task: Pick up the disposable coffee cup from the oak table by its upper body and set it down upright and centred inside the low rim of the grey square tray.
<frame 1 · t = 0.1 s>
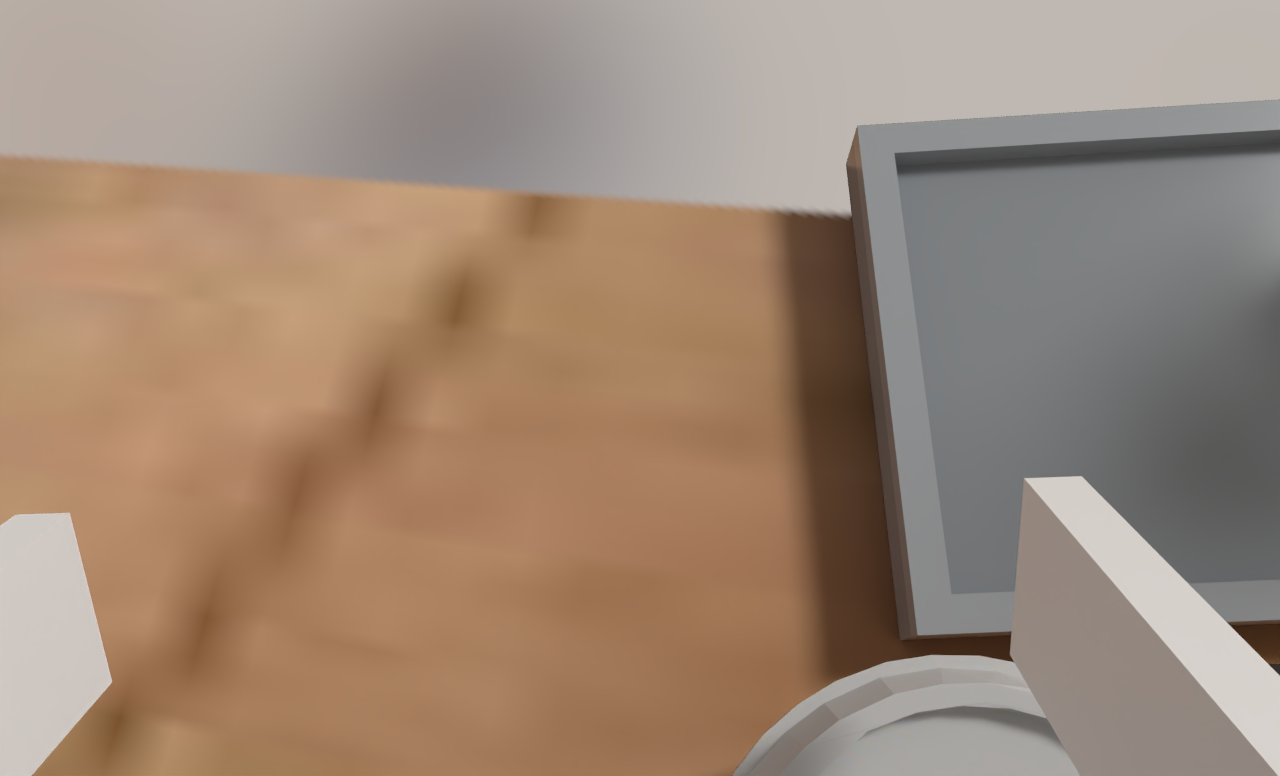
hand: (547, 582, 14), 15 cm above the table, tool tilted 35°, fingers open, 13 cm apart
grey square tray: (1123, 371, 30), on the table
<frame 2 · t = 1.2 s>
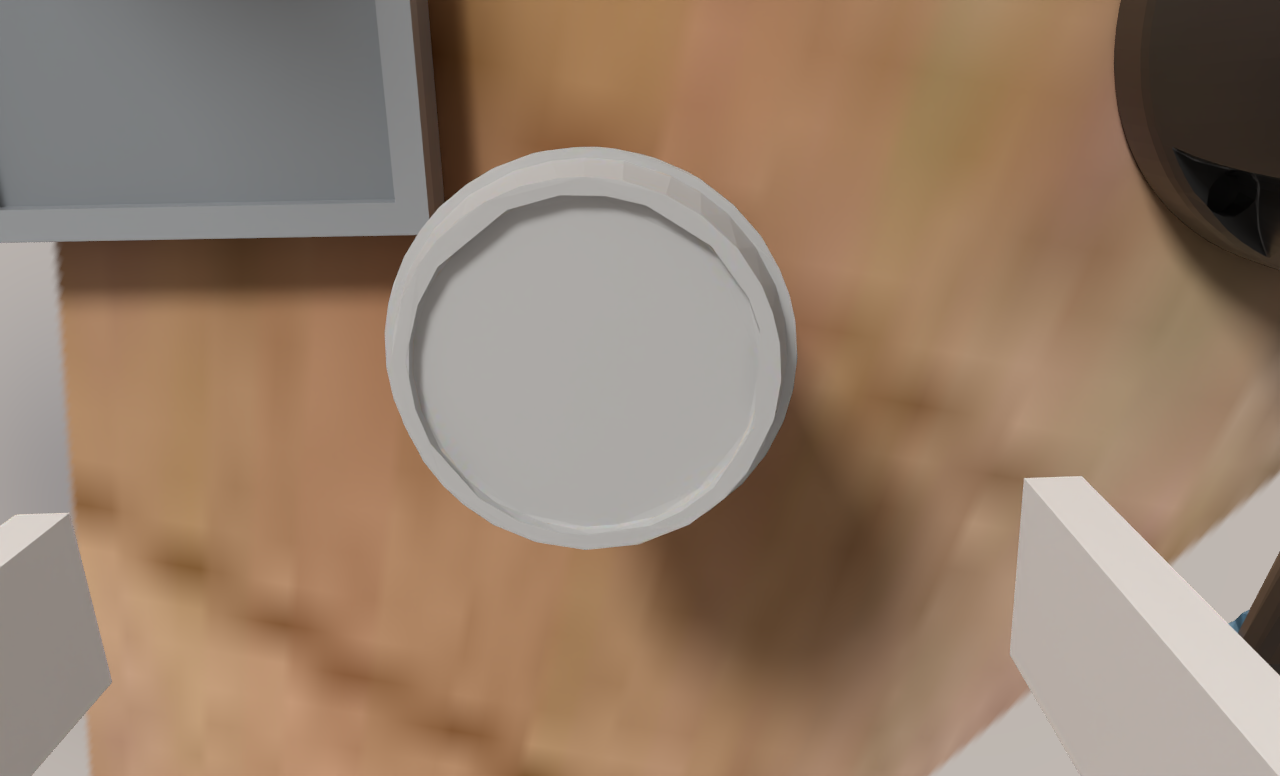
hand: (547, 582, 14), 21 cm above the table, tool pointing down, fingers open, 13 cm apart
disposable coffee cup: (614, 263, 34), on the table
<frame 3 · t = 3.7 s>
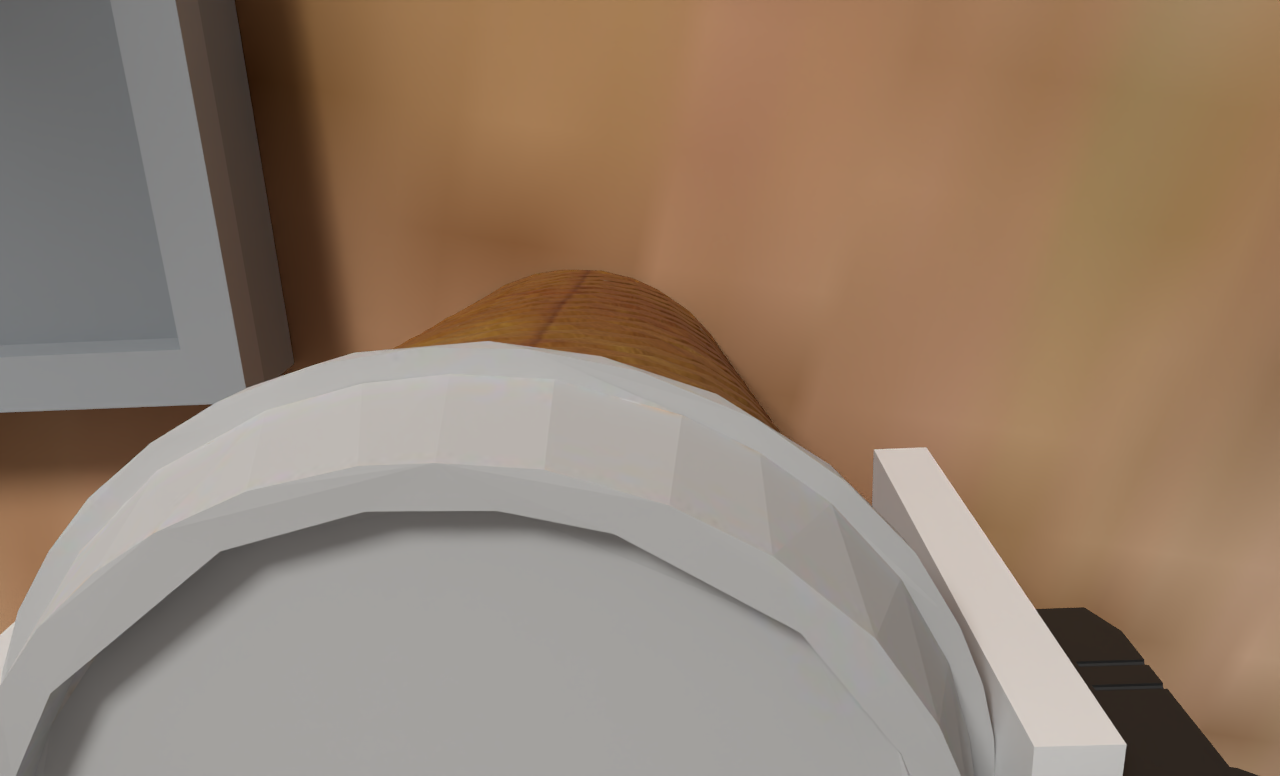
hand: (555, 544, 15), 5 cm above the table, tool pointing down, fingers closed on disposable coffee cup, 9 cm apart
disposable coffee cup: (581, 421, 20), on the table, touching gripper
when the fingers open (8 cm above the table, at t = 9.4 s): disposable coffee cup stays where it is, resting on grey square tray.
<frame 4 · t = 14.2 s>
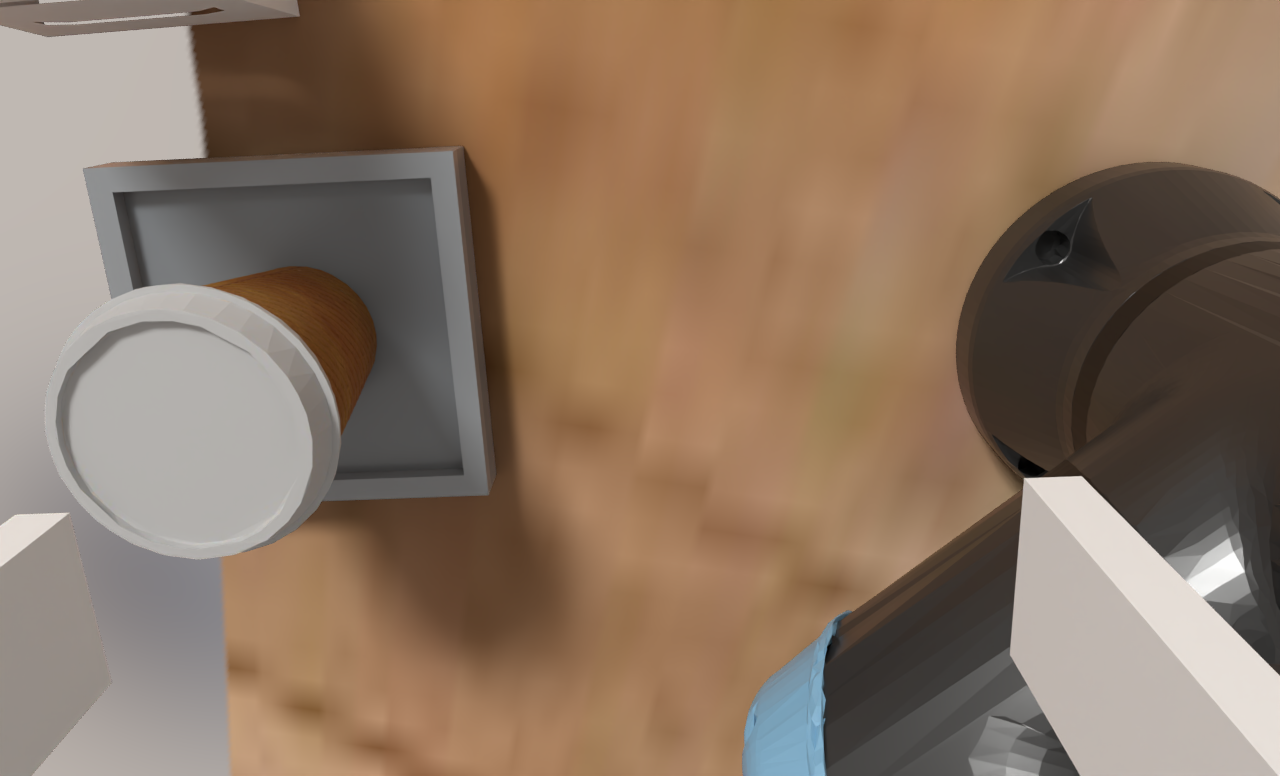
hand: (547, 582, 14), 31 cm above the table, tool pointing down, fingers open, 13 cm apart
disposable coffee cup: (306, 335, 44), point 1 cm above the table, touching grey square tray
grey square tray: (313, 325, 45), on the table
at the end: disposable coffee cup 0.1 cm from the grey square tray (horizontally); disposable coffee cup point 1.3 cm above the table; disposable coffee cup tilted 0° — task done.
